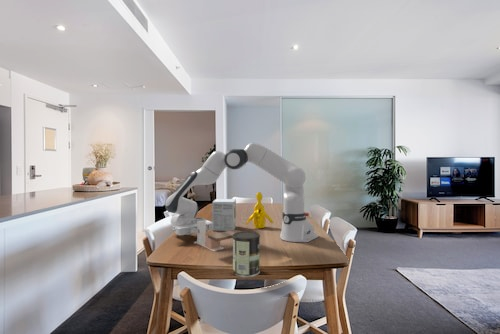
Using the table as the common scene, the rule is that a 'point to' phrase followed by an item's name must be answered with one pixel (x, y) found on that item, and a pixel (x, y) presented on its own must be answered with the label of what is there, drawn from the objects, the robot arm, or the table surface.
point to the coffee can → (246, 254)
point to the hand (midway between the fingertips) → (202, 230)
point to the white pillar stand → (203, 235)
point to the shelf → (223, 235)
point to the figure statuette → (259, 214)
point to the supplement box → (224, 214)
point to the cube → (211, 243)
